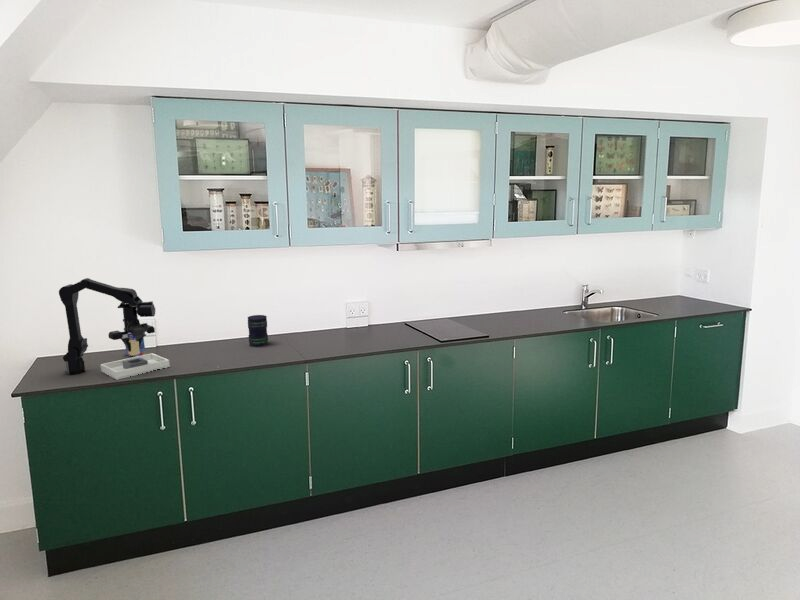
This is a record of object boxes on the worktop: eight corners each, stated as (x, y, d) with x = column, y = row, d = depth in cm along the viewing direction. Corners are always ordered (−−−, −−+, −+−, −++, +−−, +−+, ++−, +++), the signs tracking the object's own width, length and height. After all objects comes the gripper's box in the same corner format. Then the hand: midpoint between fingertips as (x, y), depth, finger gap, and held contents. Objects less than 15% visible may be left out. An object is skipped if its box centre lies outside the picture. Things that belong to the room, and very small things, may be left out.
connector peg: (128, 353, 275) (127, 341, 274) (136, 352, 277) (135, 339, 276) (131, 355, 272) (130, 342, 271) (139, 353, 275) (138, 341, 274)
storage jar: (245, 347, 312) (244, 318, 310) (253, 342, 322) (251, 314, 319) (264, 347, 311) (262, 319, 308) (271, 342, 320) (269, 315, 318)
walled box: (116, 379, 262) (115, 370, 261) (101, 371, 273) (100, 363, 273) (169, 367, 279) (168, 358, 278) (153, 360, 291) (152, 352, 290)
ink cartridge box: (125, 355, 300) (122, 326, 297) (136, 352, 304) (133, 324, 301) (135, 358, 294) (132, 329, 291) (146, 356, 298) (143, 327, 295)
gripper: (116, 323, 259) (120, 358, 262) (159, 316, 273) (161, 349, 276) (106, 319, 267) (109, 353, 270) (147, 312, 280) (150, 345, 283)
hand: (133, 350), depth 274 cm, fingers closed on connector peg, 4 cm apart
